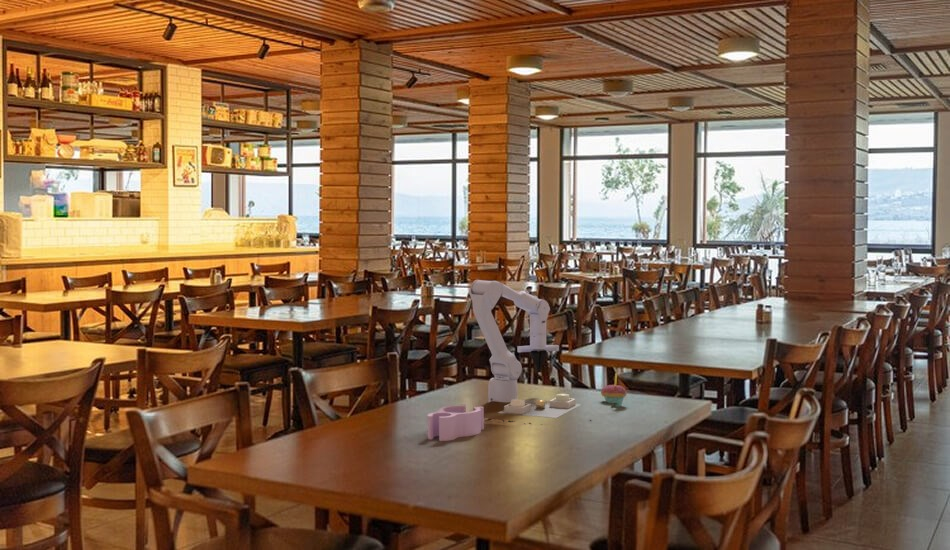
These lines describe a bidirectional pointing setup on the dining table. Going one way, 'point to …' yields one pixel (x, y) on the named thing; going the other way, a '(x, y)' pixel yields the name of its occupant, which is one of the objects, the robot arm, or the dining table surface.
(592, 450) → the dining table surface
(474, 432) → the clip
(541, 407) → the gold knob
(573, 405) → the panel
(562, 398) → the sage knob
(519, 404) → the ivory knob
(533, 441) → the dining table surface
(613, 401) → the cupcake
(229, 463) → the dining table surface
